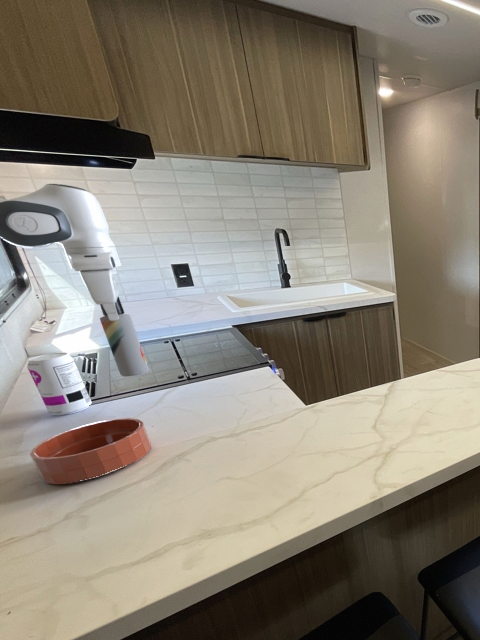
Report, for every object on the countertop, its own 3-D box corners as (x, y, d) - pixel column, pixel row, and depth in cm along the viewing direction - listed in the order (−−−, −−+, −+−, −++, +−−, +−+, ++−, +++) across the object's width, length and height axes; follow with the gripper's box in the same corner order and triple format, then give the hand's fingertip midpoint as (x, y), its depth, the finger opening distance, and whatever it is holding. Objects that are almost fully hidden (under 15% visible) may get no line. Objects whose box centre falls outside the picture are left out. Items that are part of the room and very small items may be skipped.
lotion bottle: (145, 368, 109) (119, 293, 102) (152, 372, 105) (126, 295, 99) (117, 374, 104) (89, 297, 97) (124, 378, 101) (95, 298, 94)
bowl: (37, 498, 71) (21, 469, 69) (51, 461, 83) (38, 435, 81) (153, 463, 81) (142, 437, 79) (151, 434, 93) (142, 411, 91)
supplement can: (50, 419, 102) (24, 364, 97) (49, 410, 107) (24, 357, 102) (94, 408, 108) (71, 355, 102) (91, 400, 113) (69, 350, 108)
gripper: (80, 259, 100) (101, 313, 105) (70, 263, 86) (94, 326, 91) (114, 257, 104) (132, 310, 109) (110, 261, 90) (131, 322, 94)
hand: (115, 317), depth 100 cm, fingers closed on lotion bottle, 5 cm apart
